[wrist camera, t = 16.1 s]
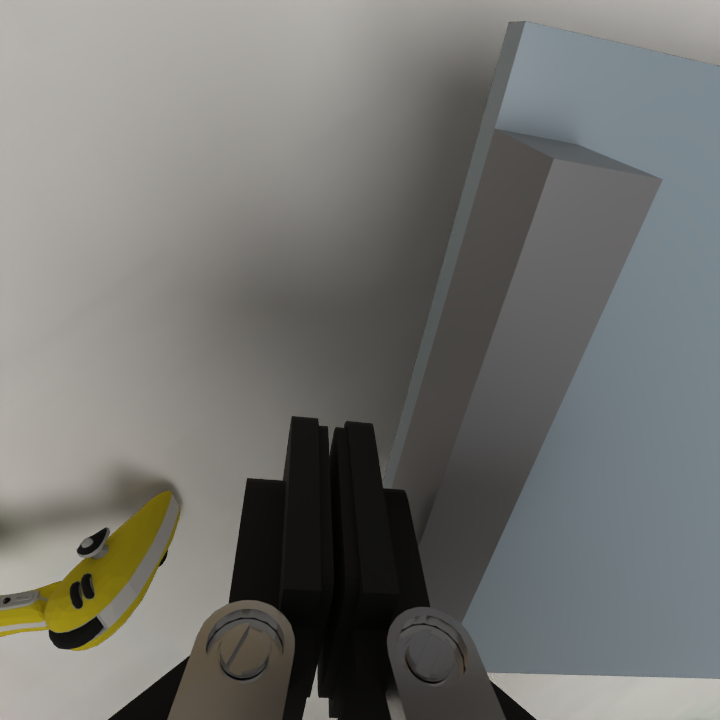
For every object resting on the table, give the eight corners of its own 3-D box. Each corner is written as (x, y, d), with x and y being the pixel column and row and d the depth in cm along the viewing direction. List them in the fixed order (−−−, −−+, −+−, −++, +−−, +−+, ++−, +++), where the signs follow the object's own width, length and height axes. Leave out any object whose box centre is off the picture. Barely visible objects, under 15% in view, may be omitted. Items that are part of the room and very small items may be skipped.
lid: (723, 656, 19) (794, 762, 16) (338, 643, 17) (343, 763, 14) (1157, 172, 11) (1453, 219, 8) (508, 22, 9) (604, 15, 6)
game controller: (159, 458, 23) (111, 599, 17) (188, 515, 24) (153, 658, 19) (-68, 502, 23) (-187, 654, 17) (-22, 554, 25) (-117, 706, 19)
